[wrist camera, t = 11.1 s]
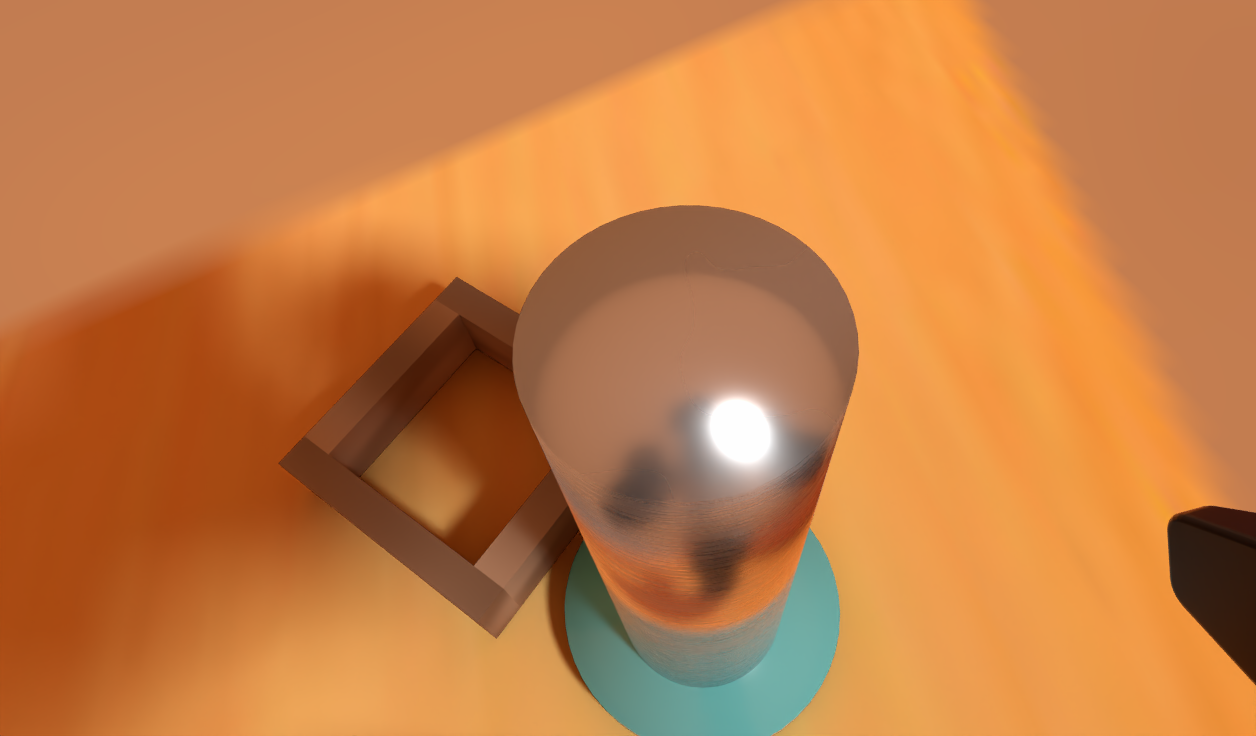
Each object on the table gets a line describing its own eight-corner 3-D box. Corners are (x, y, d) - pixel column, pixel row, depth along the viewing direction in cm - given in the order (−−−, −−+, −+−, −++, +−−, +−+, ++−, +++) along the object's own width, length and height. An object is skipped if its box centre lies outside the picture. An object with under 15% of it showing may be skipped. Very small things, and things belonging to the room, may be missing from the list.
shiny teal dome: (742, 820, 19) (743, 819, 18) (516, 641, 21) (509, 635, 21) (884, 575, 21) (889, 566, 21) (667, 440, 24) (665, 429, 23)
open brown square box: (496, 638, 22) (477, 622, 20) (309, 489, 24) (278, 463, 22) (658, 425, 24) (653, 394, 22) (473, 312, 27) (456, 277, 25)
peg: (703, 724, 19) (685, 580, 8) (590, 604, 21) (444, 345, 10) (813, 604, 20) (932, 329, 9) (698, 499, 22) (679, 157, 11)
